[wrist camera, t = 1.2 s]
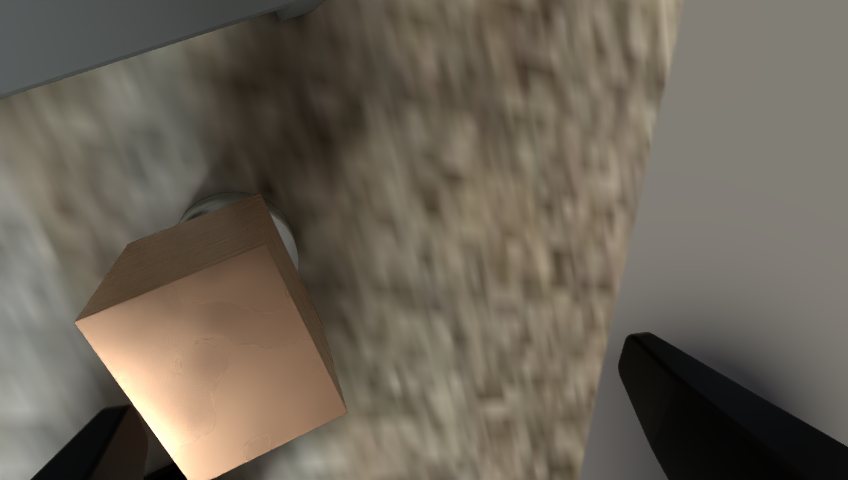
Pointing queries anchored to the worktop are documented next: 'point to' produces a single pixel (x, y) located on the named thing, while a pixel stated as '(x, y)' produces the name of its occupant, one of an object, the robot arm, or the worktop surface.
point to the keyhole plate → (109, 32)
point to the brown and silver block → (216, 335)
